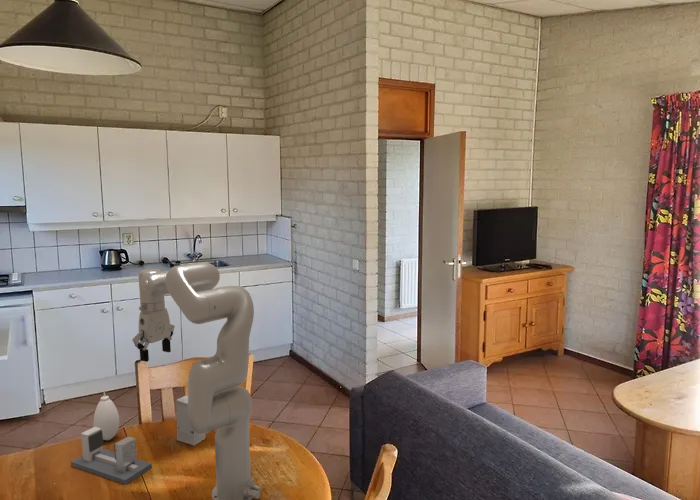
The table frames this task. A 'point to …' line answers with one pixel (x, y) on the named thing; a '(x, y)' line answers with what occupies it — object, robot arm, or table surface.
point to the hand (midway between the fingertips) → (155, 356)
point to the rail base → (105, 459)
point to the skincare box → (186, 424)
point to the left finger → (125, 453)
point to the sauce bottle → (106, 417)
